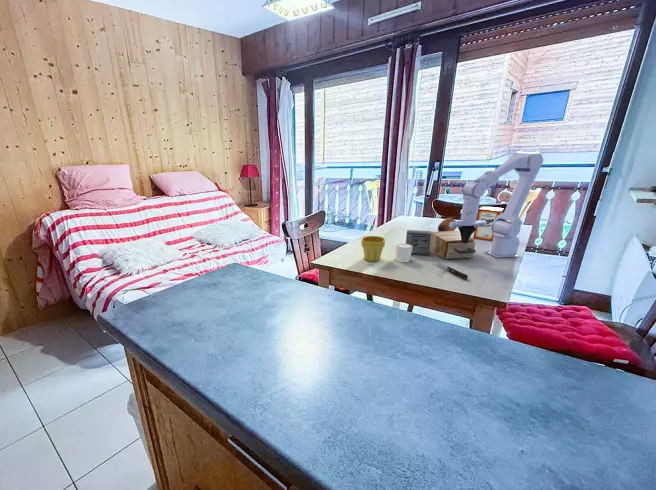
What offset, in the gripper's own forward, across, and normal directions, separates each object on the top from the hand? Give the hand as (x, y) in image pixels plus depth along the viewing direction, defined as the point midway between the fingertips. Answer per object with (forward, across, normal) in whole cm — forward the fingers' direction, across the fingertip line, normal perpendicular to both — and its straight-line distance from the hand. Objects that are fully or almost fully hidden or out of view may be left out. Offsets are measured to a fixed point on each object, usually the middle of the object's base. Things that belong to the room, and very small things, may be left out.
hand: (464, 242), depth 141 cm
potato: (+4, -15, -42) cm, 45 cm away
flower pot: (+9, +37, -9) cm, 39 cm away
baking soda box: (+8, -29, -30) cm, 42 cm away
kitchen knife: (+9, +11, +11) cm, 18 cm away
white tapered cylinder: (+9, +24, -5) cm, 26 cm away
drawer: (+8, 0, -6) cm, 9 cm away
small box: (+9, +14, -14) cm, 21 cm away
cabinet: (+8, 0, -11) cm, 14 cm away
